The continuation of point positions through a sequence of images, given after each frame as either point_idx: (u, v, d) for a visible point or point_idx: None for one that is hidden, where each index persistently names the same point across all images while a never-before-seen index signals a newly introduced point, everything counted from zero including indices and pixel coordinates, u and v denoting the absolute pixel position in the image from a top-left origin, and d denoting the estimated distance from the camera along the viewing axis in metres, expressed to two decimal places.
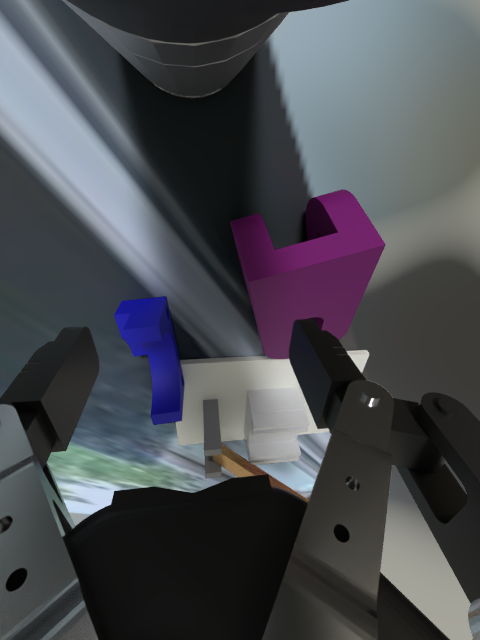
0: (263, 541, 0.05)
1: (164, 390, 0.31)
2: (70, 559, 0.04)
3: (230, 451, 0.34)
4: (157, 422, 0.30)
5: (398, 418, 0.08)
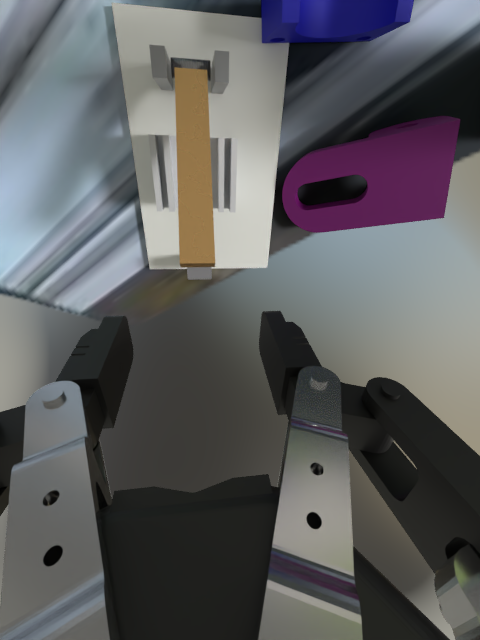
0: (263, 541, 0.05)
1: None
2: (100, 549, 0.04)
3: None
4: None
5: (345, 401, 0.08)
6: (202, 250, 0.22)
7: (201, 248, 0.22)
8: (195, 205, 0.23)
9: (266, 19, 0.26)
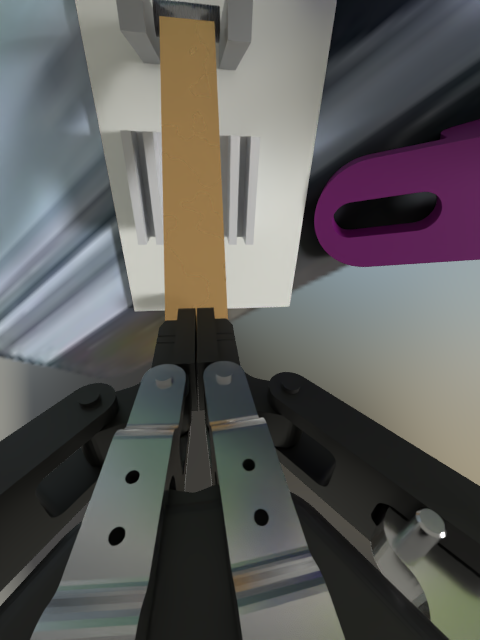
0: None
1: None
2: (153, 555, 0.04)
3: None
4: None
5: None
6: None
7: None
8: (194, 254, 0.13)
9: None
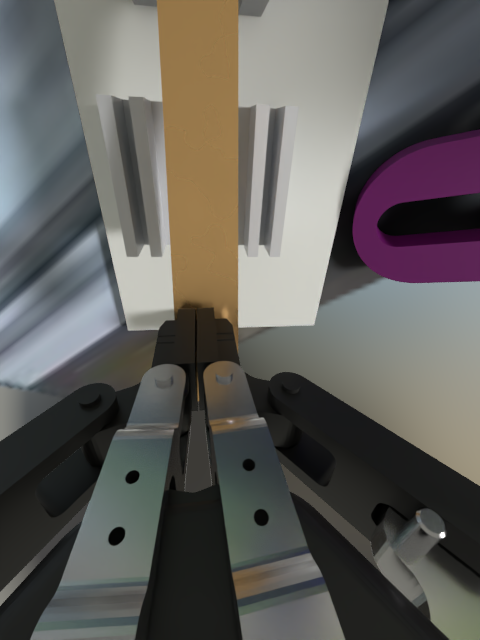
0: None
1: None
2: (153, 555, 0.04)
3: None
4: None
5: None
6: None
7: None
8: (205, 299, 0.12)
9: None
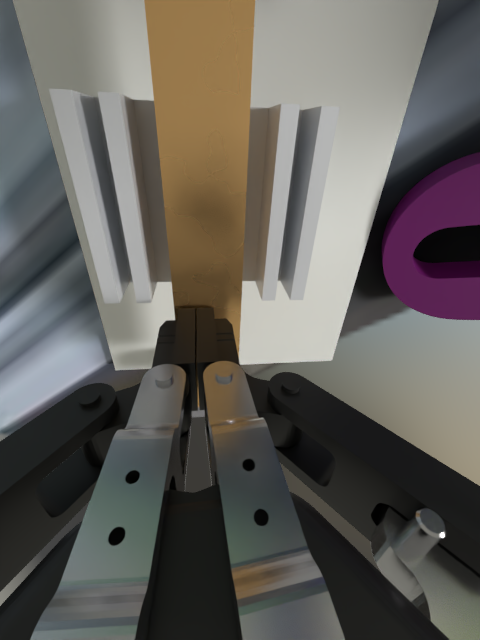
0: None
1: None
2: (153, 555, 0.04)
3: None
4: None
5: None
6: None
7: None
8: None
9: None
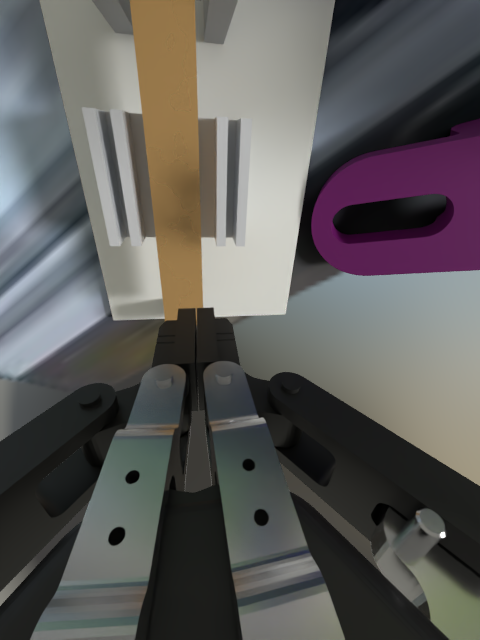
0: None
1: None
2: (153, 555, 0.04)
3: None
4: None
5: None
6: None
7: None
8: (180, 264, 0.19)
9: None
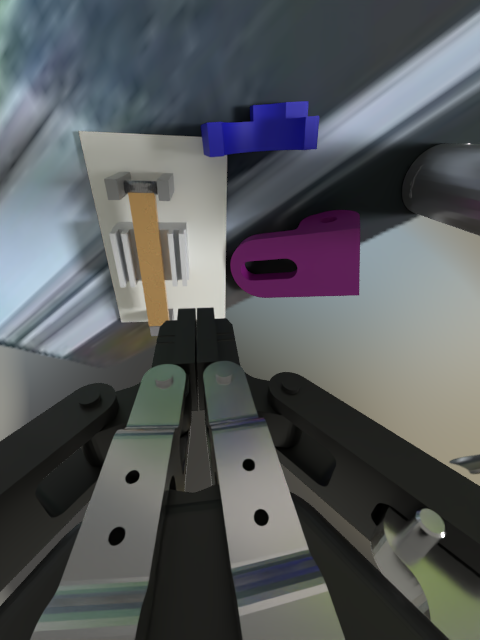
0: None
1: (226, 137, 0.31)
2: (153, 555, 0.04)
3: None
4: (210, 128, 0.28)
5: None
6: (161, 319, 0.40)
7: (160, 318, 0.40)
8: (154, 295, 0.38)
9: (203, 142, 0.33)
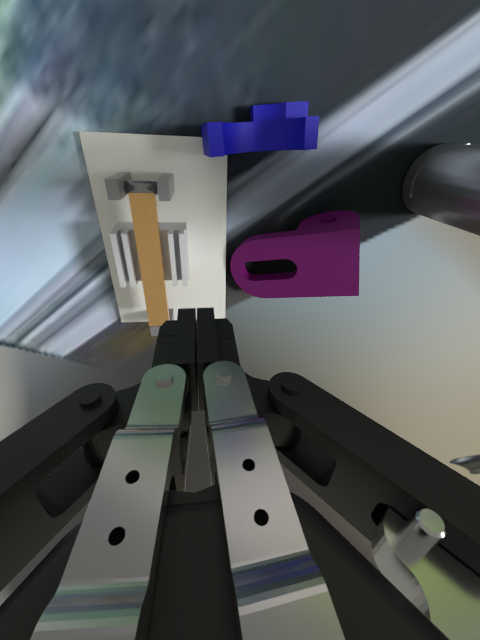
0: None
1: (226, 137, 0.31)
2: (153, 555, 0.04)
3: (157, 211, 0.33)
4: (210, 128, 0.28)
5: None
6: (161, 319, 0.40)
7: (160, 318, 0.40)
8: (155, 295, 0.38)
9: (203, 142, 0.33)
